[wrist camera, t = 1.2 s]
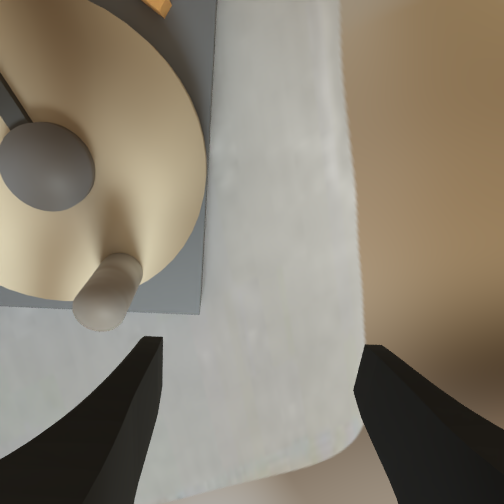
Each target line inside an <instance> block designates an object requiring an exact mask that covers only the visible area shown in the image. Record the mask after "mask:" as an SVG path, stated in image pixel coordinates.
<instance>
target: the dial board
mask: <svg viewBox="0 0 504 504" xmlns="http://www.w3.org/2000/svg"><path fill="white" fill-rule="evenodd" d="M88 1H90V2H92V3H94V4H96V5H98V6H100V7H102V8H104V9H106V10H107V11H109V12H110V13H112V14H113V15H115V16H116V17H118V18H119V19H121V20H122V21H124V22H125V23H127V24H128V25H129V26H130V27H131V28H132V29H134V30H135V31H136V32H137V33H138V34H139V35H141V36H142V37H143V38H144V39H145V40H146V41H148V42H149V43H150V44H151V45H152V46H153V47H154V48H155V49H156V50H157V51H158V52H159V53H160V54H161V55H162V57H163V58H164V59H165V60H166V61H167V62H168V63H169V65H170V66H171V67H172V69H173V70H174V72H175V73H176V74H177V76H178V77H179V79H180V80H181V82H182V83H183V85H184V87H185V89H186V91H187V92H188V94H189V96H190V98H191V100H192V102H193V105H194V107H195V110H196V112H197V115H198V117H199V121H200V124H201V128H202V132H203V135H204V141H205V148H206V155H207V176H206V185H205V192H204V197H203V201H202V205H201V209H200V213H199V216H198V219H197V221H196V224H195V226H194V228H193V231H192V233H191V235H190V236H189V238H188V240H187V241H186V243H185V245H184V246H183V248H182V249H181V250H180V252H179V253H178V254H177V255H176V257H175V258H174V259H173V260H172V261H171V262H170V263H169V264H168V265H167V266H166V267H165V268H164V269H163V270H162V271H160V272H159V273H158V274H156V275H155V276H154V277H152V278H151V279H149V280H148V281H146V282H144V283H143V284H141V285H139V287H138V289H137V291H136V294H135V296H134V298H133V300H132V302H131V304H130V307H129V309H128V311H127V312H143V313H166V314H188V315H199V314H200V305H201V289H202V271H203V252H204V234H205V215H206V197H207V178H208V160H209V141H210V122H211V104H212V85H213V67H214V48H215V30H216V11H217V0H88ZM72 305H73V301H60V300H50V299H43V298H38V297H34V296H29V295H25V294H22V293H19V292H16V291H13V290H10V289H7V288H5V287H3V286H0V306H9V307H31V308H54V309H72Z"/></svg>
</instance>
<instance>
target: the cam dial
mask: <svg viewBox="0 0 504 504" xmlns="http://www.w3.org/2000/svg"><path fill="white" fill-rule="evenodd" d="M206 176H207V155H206V148H205V141H204V135H203V132H202V128H201V124H200V121H199V117H198V115H197V112H196V110H195V107H194V105H193V102H192V100H191V98H190V96H189V94H188V92H187V91H186V89H185V87H184V85H183V83H182V82H181V80H180V79H179V77H178V76H177V74H176V73H175V72H174V70H173V69H172V67H171V66H170V65H169V63H168V62H167V61H166V60H165V59H164V58H163V57H162V55H161V54H160V53H159V52H158V51H157V50H156V49H155V48H154V47H153V46H152V45H151V44H150V43H149V42H148V41H146V40H145V39H144V38H143V37H142V36H141V35H139V34H138V33H137V32H136V31H135V30H134V29H132V28H131V27H130V26H129V25H128V24H127V23H125V22H124V21H122V20H121V19H119V18H118V17H116V16H115V15H113V14H112V13H110V12H109V11H107V10H106V9H104V8H102V7H100V6H98V5H96V4H94V3H92V2H90V1H88V0H0V286H3V287H5V288H7V289H10V290H13V291H16V292H19V293H22V294H25V295H29V296H34V297H38V298H43V299H50V300H60V301H73V305H72V309H73V314H74V316H75V318H76V319H77V321H78V322H79V323H80V324H81V325H83V326H84V327H86V328H88V329H90V330H93V331H99V332H104V331H110V330H113V329H115V328H116V327H118V326H119V325H120V324H121V323H122V321H123V320H124V318H125V315H126V313H127V311H128V309H129V307H130V304H131V302H132V300H133V298H134V296H135V294H136V291H137V289H138V287H139V285H141V284H143V283H144V282H146V281H148V280H149V279H151V278H152V277H154V276H155V275H156V274H158V273H159V272H160V271H162V270H163V269H164V268H165V267H166V266H167V265H168V264H169V263H170V262H171V261H172V260H173V259H174V258H175V257H176V255H177V254H178V253H179V252H180V250H181V249H182V248H183V246H184V245H185V243H186V241H187V240H188V238H189V236H190V235H191V233H192V231H193V228H194V226H195V224H196V221H197V219H198V216H199V213H200V209H201V205H202V201H203V197H204V192H205V185H206Z"/></svg>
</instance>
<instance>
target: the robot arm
mask: <svg viewBox="0 0 504 504" xmlns="http://www.w3.org/2000/svg"><path fill="white" fill-rule="evenodd" d="M162 367H163V337H152V336H144V337H143V338H141V339H140V341H139V342H138V343H137V344H136V346H135V347H134V348H133V349H132V351H131V352H130V353H129V354H128V355H127V356H126V358H125V359H124V360H123V361H122V362H121V363H120V364H119V365H118V367H117V368H116V369H115V370H114V371H113V372H112V373H111V374H110V375H109V376H108V377H107V378H106V379H105V380H104V381H103V382H102V383H101V384H100V385H99V386H98V387H97V388H96V389H95V390H94V391H93V392H92V393H91V394H90V395H89V396H88V397H86V398H85V399H84V400H83V401H82V402H81V403H80V404H78V405H77V406H76V407H75V408H74V409H73V410H71V411H70V412H69V413H68V414H66V415H65V416H64V417H63V418H61V419H60V420H59V421H57V422H56V423H55V424H53V425H52V426H51V427H49V428H48V429H46V430H45V431H44V432H42V433H41V434H39V435H38V436H37V437H35V438H34V439H32V440H31V441H29V442H28V443H26V444H25V445H23V446H21V447H20V448H18V449H17V450H15V451H14V452H12V453H10V454H9V455H7V456H5V457H4V458H2V459H0V504H134V499H135V495H136V490H137V486H138V482H139V479H140V475H141V472H142V468H143V465H144V461H145V458H146V454H147V451H148V447H149V444H150V440H151V436H152V433H153V429H154V426H155V422H156V419H157V415H158V409H159V403H160V397H161V391H162ZM353 391H354V395H355V398H356V402H357V405H358V408H359V412H360V415H361V418H362V420H363V423H364V425H365V427H366V429H367V432H368V434H369V436H370V439H371V441H372V443H373V445H374V447H375V450H376V452H377V454H378V456H379V459H380V461H381V463H382V465H383V467H384V470H385V472H386V474H387V476H388V478H389V481H390V483H391V486H392V488H393V491H394V493H395V495H396V498H397V501H398V504H504V430H503V429H502V428H500V427H498V426H496V425H494V424H493V423H491V422H490V421H488V420H486V419H484V418H483V417H481V416H480V415H478V414H476V413H475V412H473V411H472V410H470V409H468V408H467V407H465V406H464V405H462V404H461V403H459V402H458V401H456V400H455V399H454V398H452V397H451V396H449V395H448V394H446V393H445V392H444V391H442V390H441V389H439V388H438V387H437V386H435V385H434V384H433V383H431V382H430V381H429V380H427V379H426V378H425V377H423V376H422V375H421V374H419V373H418V372H417V371H415V370H414V369H413V368H412V367H410V366H409V365H408V364H406V363H405V362H404V361H403V360H401V359H400V358H399V357H397V356H396V355H395V354H393V353H392V352H391V351H389V350H388V349H386V348H385V347H384V346H382V345H365V346H364V350H363V354H362V358H361V362H360V366H359V370H358V374H357V378H356V382H355V386H354V390H353Z"/></svg>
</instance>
